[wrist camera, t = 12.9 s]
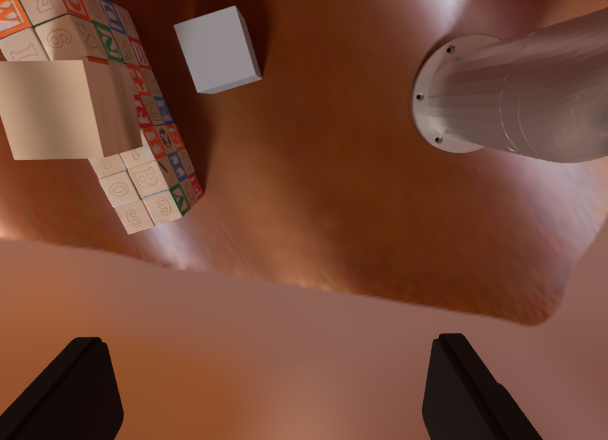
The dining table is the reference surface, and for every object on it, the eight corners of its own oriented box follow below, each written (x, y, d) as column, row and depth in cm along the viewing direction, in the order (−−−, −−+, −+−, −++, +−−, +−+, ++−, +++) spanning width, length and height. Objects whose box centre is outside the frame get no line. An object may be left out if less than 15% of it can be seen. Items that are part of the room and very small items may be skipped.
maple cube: (129, 69, 26) (82, 59, 20) (143, 146, 28) (103, 157, 22) (52, 70, 26) (-17, 61, 20) (71, 148, 28) (14, 159, 22)
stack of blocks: (206, 194, 42) (172, 229, 31) (161, 208, 43) (110, 248, 31) (127, 8, 35) (44, -37, 24) (74, 28, 36) (-32, -7, 24)
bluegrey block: (245, 20, 36) (235, 5, 30) (262, 79, 38) (255, 74, 32) (193, 37, 36) (173, 25, 31) (212, 94, 38) (197, 92, 33)
